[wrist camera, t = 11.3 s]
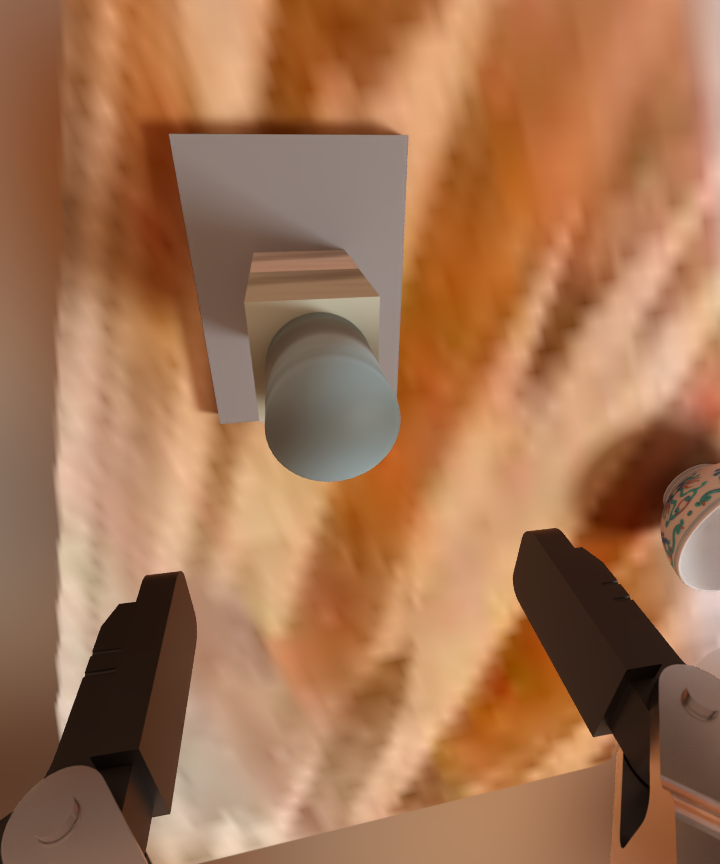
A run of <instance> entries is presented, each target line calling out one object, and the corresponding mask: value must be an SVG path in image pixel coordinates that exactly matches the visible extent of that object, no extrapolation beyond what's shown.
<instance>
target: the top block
mask: <svg viewBox="0 0 720 864" xmlns="http://www.w3.org/2000/svg"><path fill="white" fill-rule="evenodd" d="M244 305H245V313H246V321H247V329H248V337H249V344H250V352H251V360H252V368H253V376H254V384H255V391H256V399H257V407H258V415H259V423H262V422H265V393H266V358H267V352H268V348H269V346H270V343H271V341H272V339H273V338H274V336H275V335H276V333H277V332H278V331H279V330H280V329H281V328H282V327H283V326H284V325H285V324H286V323H288V322H289V321H291V320H292V319H294V318H296V317H299V316H301V315H304V314H308V313H316V312H325V313H332V314H335V315H339V316H341V317H343V318H345V319H347V320H349V321H350V322H352V323H353V324H354V325H355V326H356V327H357V328H358V329H359V330H360V331H361V332H362V334H363V335H364V336H365V338H366V340H367V342H368V344H369V346H370V348H371V350H372V352H373V354H374V356H375V358H376V360H377V362H378V364H379V317H380V296H379V295H378V293H377V292H376V291H375V289H374V288H373V287H372V285H371V284H370V283H369V281H368V280H367V279H366V277H365V276H364V275H363V274H362V272H361V271H360V270H359V269H334V270H305V271H277V272H250V273H249V278H248V284H247V289H246V295H245V300H244Z"/></svg>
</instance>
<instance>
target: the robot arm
mask: <svg viewBox="0 0 720 864" xmlns="http://www.w3.org/2000/svg"><path fill="white" fill-rule="evenodd" d="M513 586H514V591H515V594H516V597H517V599H518V601H519V603H520V605H521V607H522V609H523V610H524V612H525V614H526V616H527V618H528V620H529V621H530V623H531V625H532V627H533V629H534V631H535V632H536V634H537V636H538V638H539V640H540V641H541V643H542V645H543V647H544V649H545V651H546V652H547V654H548V656H549V658H550V660H551V661H552V663H553V665H554V667H555V669H556V671H557V672H558V674H559V676H560V678H561V680H562V682H563V683H564V685H565V687H566V689H567V691H568V692H569V694H570V696H571V698H572V700H573V702H574V703H575V705H576V707H577V709H578V711H579V713H580V714H581V716H582V718H583V720H584V722H585V723H586V725H587V727H588V729H589V731H590V733H591V734H592V736H593V737H596V736H602V735H607V734H613V735H614V737H615V739H616V740H617V742H618V744H619V745H620V746H619V748H618V751H617V760H616V778H615V797H614V815H613V833H612V849H611V856H610V861H609V864H720V680H719V679H718V678H717V677H715V676H714V675H712V674H710V673H708V672H706V671H704V670H701V669H700V668H697V667H694V666H690V665H686V664H685V663H684V662H683V661H682V660H681V659H680V657H679V656H678V655H677V654H676V653H675V651H674V650H673V649H672V648H671V646H670V645H669V644H668V643H667V641H666V640H665V639H664V638H663V636H662V635H661V634H660V633H659V631H658V630H657V629H656V628H655V626H654V625H653V624H652V623H651V622H650V620H649V619H648V618H647V617H646V615H645V614H644V613H643V612H642V610H641V609H640V608H639V607H638V605H637V604H636V603H635V602H634V600H631V599H630V595H629V594H628V593H627V592H626V590H625V589H624V588H623V587H622V586H621V584H618V582H617V579H616V578H615V577H614V576H613V574H612V573H611V572H610V571H609V569H608V568H607V567H606V566H605V564H604V563H603V562H602V561H600V560H599V559H598V558H596V557H595V556H593V555H592V554H591V553H589V552H588V551H587V550H585V549H584V548H582V547H580V548H574V547H573V545H572V544H571V543H570V541H569V540H568V539H567V538H566V536H565V535H564V534H563V532H562V531H560V530H559V529H557V528H552V529H543V530H535V531H527V532H525V533H524V534H523V537H522V540H521V544H520V548H519V552H518V557H517V561H516V565H515V569H514V573H513ZM196 640H197V624H196V616H195V612H194V608H193V605H192V601H191V597H190V594H189V590H188V587H187V583H186V579H185V576H184V574H183V572H182V571H179V572H170V573H162V574H153V575H146V576H145V577H144V579H143V581H142V584H141V587H140V590H139V594H138V597H137V600H136V602H131V603H123V604H119V605H118V606H117V607H116V609H115V610H114V611H113V612H112V614H111V615H110V616H109V617H108V619H107V620H106V621H105V622H104V624H103V625H102V626H101V629H100V631H99V634H98V637H97V640H96V643H95V645H94V648H93V651H92V652H93V655H92V656H91V657H90V659H89V662H88V665H87V668H86V671H85V677H84V678H83V679H82V682H81V684H80V687H79V690H78V693H77V696H76V698H75V701H74V704H73V707H72V710H71V712H70V715H69V718H68V721H67V724H66V726H65V729H64V732H63V735H62V738H61V740H60V743H59V746H58V749H57V752H56V755H55V757H54V760H53V762H52V764H51V767H50V769H49V770H48V772H47V774H46V776H45V777H44V779H43V780H42V781H40V783H38V784H37V785H36V786H34V787H33V788H32V789H31V790H30V791H29V793H27V794H26V795H25V797H24V798H23V799H22V800H21V802H20V803H19V804H18V805H17V807H16V809H15V810H14V811H13V812H12V813H10V814H9V815H7V816H6V817H5V818H3V819H2V820H0V864H153V863H152V861H151V859H150V857H149V855H148V853H147V851H146V847H147V841H148V836H149V830H150V824H151V819H152V817H157V816H162V815H167V814H170V812H171V806H172V799H173V792H174V786H175V779H176V773H177V766H178V760H179V753H180V747H181V740H182V733H183V727H184V720H185V714H186V707H187V701H188V694H189V688H190V681H191V674H192V668H193V661H194V655H195V648H196Z"/></svg>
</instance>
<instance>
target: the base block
mask: <svg viewBox="0 0 720 864" xmlns="http://www.w3.org/2000/svg"><path fill="white" fill-rule="evenodd" d="M334 269H359V268H358V267H357V265H356V264H355V263H354V261H353V260H352V259H351V257H350V256H349V255H348V253H347V252H346V251H345V250H322V251H288V252H254V253H253V258H252V263H251V269H250V272H277V271H305V270H334Z"/></svg>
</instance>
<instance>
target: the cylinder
mask: <svg viewBox="0 0 720 864" xmlns="http://www.w3.org/2000/svg"><path fill="white" fill-rule="evenodd" d="M399 428H400V410H399V405H398V402H397V399H396V397H395V395H394V393H393V391H392V389H391V387H390V385H389V383H388V381H387V379H386V377H385V375H384V373H383V372H382V370H381V368H380V366H379V364H378V362H377V360H376V358H375V356H374V354H373V352H372V350H371V348H370V346H369V344H368V342H367V340H366V338H365V336H364V335H363V334H362V332H361V331H360V330H359V329H358V328H357V327H356V326H355V325H354V324H353V323H352V322H350V321H349V320H347V319H345V318H343V317H341V316H339V315H335V314H332V313H325V312H316V313H308V314H304V315H301V316H299V317H296V318H294V319H292V320H291V321H289V322H288V323H286V324H285V325H284V326H283V327H282V328H281V329H280V330H279V331H278V332H277V333H276V335H275V336H274V338H273V339H272V341H271V343H270V346H269V348H268V352H267V358H266V393H265V434H266V439H267V442H268V445H269V448H270V449H271V451H272V453H273V455H274V456H275V457H276V459H277V460H278V461H279V462H280V463H281V464H282V465H283V466H284V467H286V468H287V469H288V470H290V471H291V472H293V473H295V474H297V475H299V476H301V477H304V478H307V479H310V480H315V481H324V482H332V481H341V480H346V479H350V478H353V477H356V476H359V475H361V474H363V473H365V472H367V471H369V470H370V469H372V468H373V467H375V466H376V465H377V464H378V463H380V462H381V461H382V460H383V459H384V458H385V456H386V455H387V454H388V453H389V451H390V450H391V448H392V447H393V445H394V443H395V441H396V438H397V436H398V432H399Z"/></svg>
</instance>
